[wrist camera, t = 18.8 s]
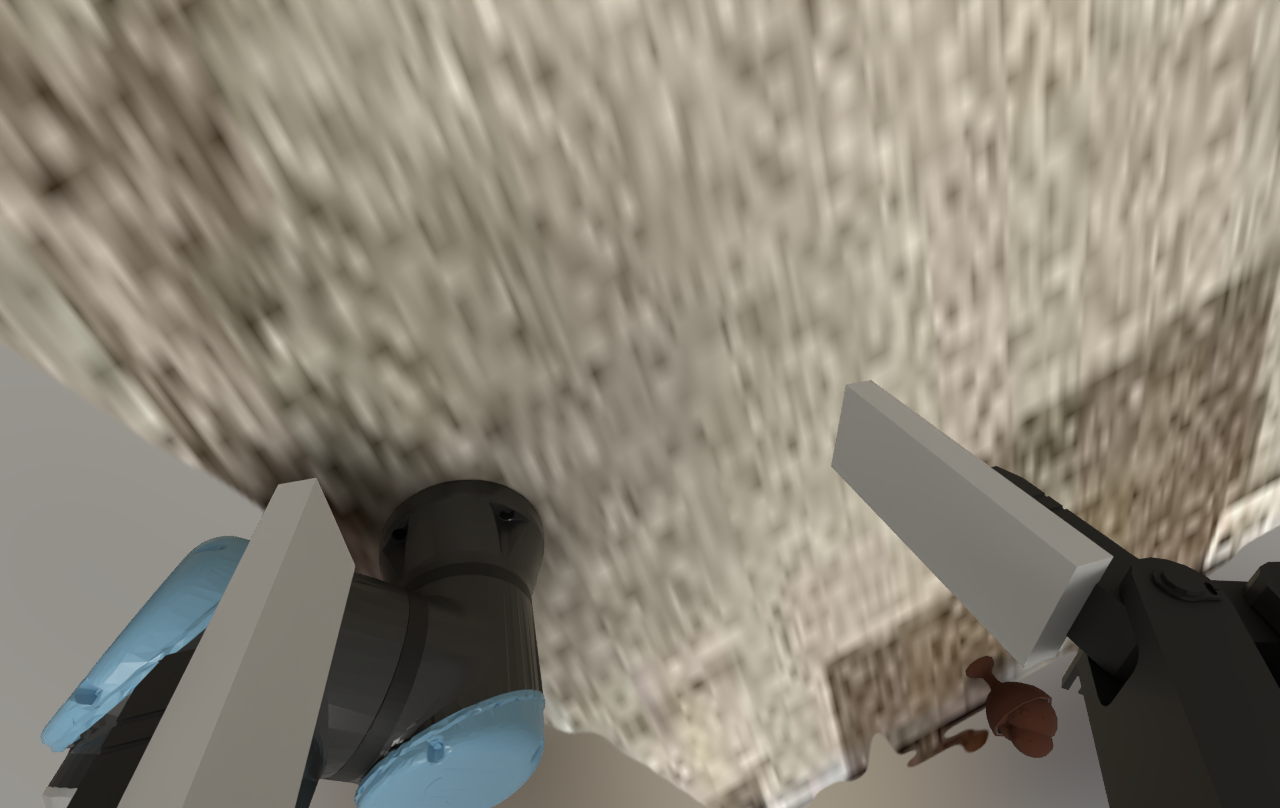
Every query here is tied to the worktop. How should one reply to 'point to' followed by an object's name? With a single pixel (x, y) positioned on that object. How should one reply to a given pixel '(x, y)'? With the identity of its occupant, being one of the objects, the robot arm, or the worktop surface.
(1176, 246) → the worktop surface
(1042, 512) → the robot arm
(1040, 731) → the ice cream bowl
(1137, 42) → the worktop surface
